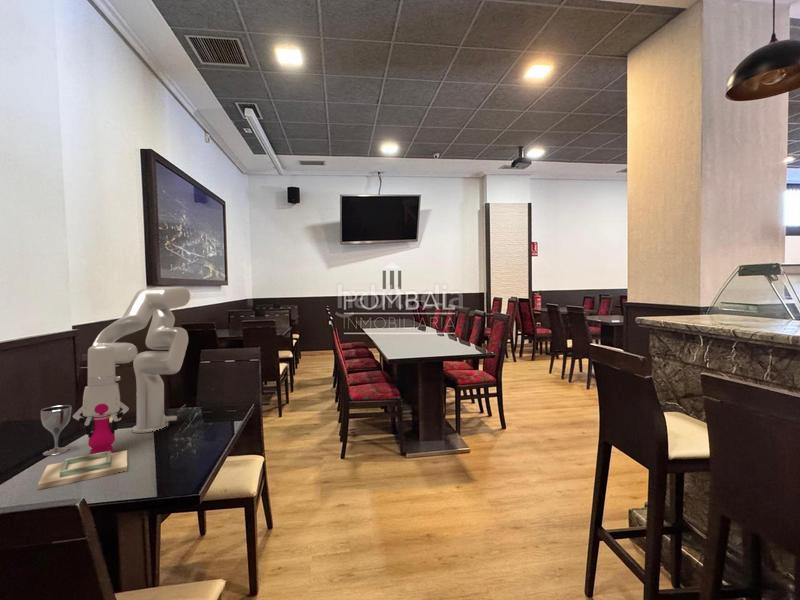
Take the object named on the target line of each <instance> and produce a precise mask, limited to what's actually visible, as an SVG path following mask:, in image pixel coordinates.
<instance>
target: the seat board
mask: <svg viewBox="0 0 800 600" xmlns="http://www.w3.org/2000/svg"><path fill="white" fill-rule="evenodd" d="M123 471H125V472H128V450H122V451H117V452H112V453H111V451H107V452H102V453H96V454H91V455H90V454H86V455H80V456H75V457H70V458H65V459H64V460H63V462H58V463H56V462H55V463H52V464H47V465H46V467H45V469H44V471H43V473H42V475H41V477H40V478H39V481H38V482H37V483H38V484H37V490H38V491H40V490H44V489H49V488H53V487H59V486H64V485H69V484H72V483H77V482H82V481H86V480H92V479H95V478H96V479H97V478H101V477H102V478H103V477H105V476H111V475H115V474H114V473H116V474H119V473H118V472H121V473H124V472H123Z"/></svg>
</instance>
